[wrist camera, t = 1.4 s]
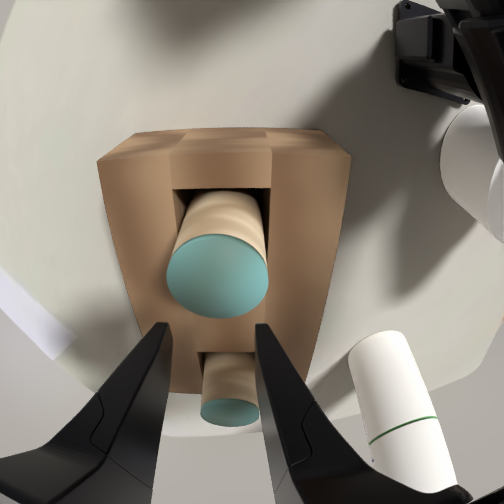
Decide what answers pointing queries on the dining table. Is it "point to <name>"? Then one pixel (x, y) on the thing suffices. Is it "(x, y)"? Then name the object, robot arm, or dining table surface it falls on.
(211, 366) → the peg
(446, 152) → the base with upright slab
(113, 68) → the dining table surface
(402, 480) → the cylindrical container
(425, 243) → the dining table surface
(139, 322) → the socket block
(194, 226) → the peg
